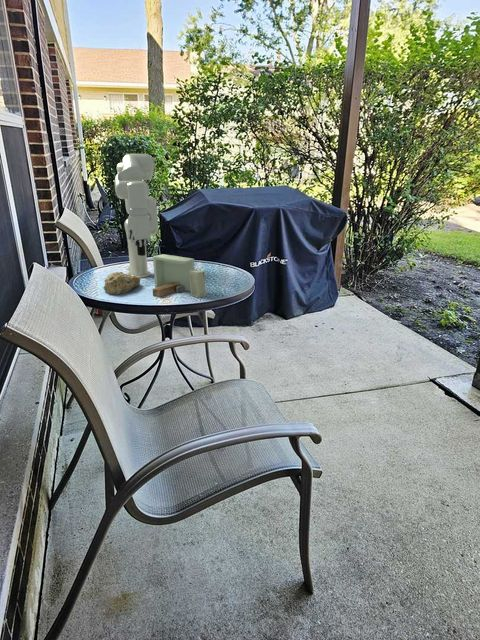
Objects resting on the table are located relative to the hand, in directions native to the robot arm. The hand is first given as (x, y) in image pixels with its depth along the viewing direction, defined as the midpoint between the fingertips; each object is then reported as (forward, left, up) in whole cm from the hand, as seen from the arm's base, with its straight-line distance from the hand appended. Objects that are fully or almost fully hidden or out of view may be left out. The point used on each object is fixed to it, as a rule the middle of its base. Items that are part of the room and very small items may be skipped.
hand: (141, 255), depth 183 cm
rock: (-23, +8, -22) cm, 32 cm away
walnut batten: (0, +15, -21) cm, 26 cm away
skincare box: (+16, +19, -21) cm, 33 cm away
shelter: (0, +21, -21) cm, 30 cm away
